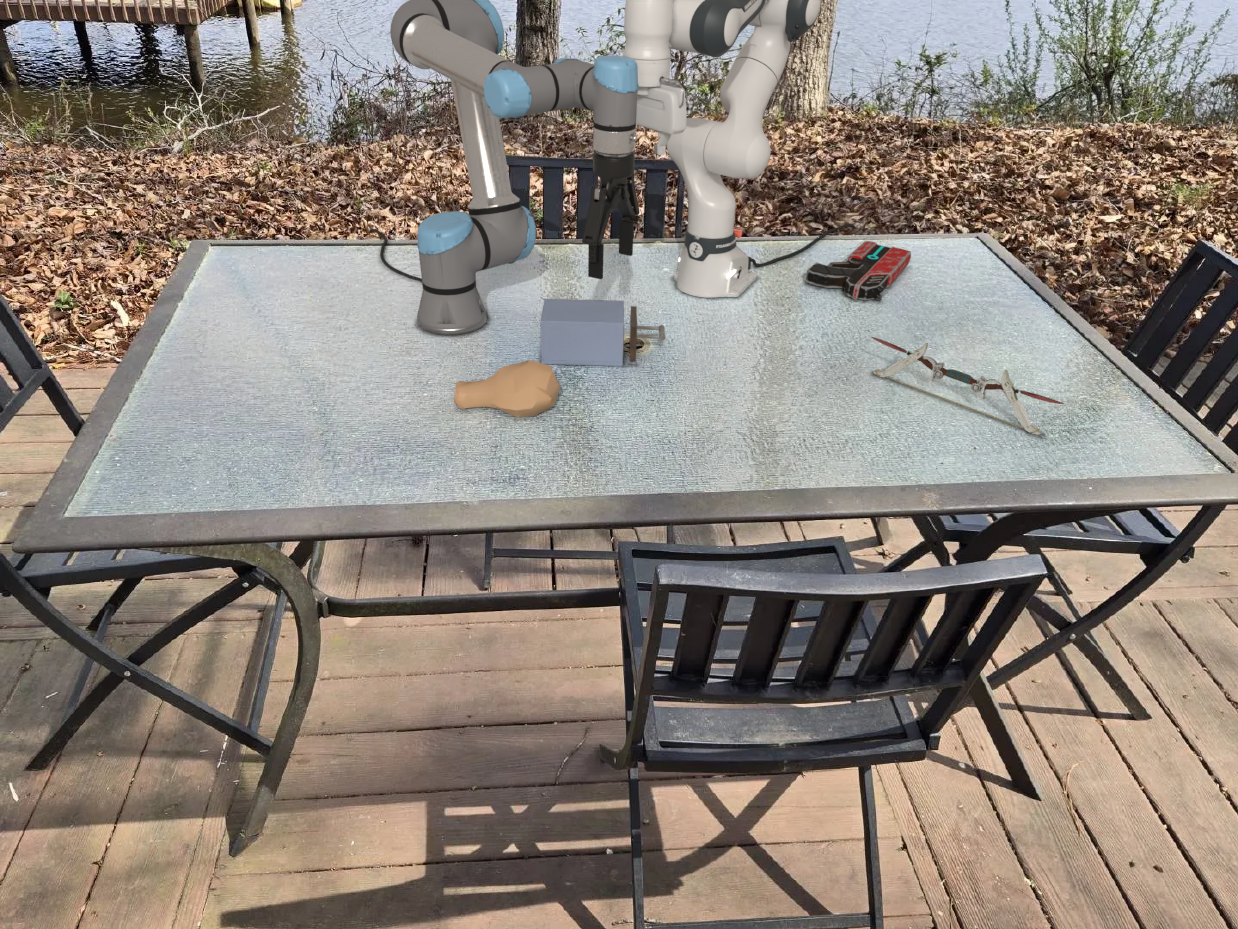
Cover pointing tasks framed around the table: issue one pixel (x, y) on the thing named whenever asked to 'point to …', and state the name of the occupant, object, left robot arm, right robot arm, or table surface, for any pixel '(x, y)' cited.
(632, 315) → the drawer
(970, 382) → the bow
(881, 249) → the gun
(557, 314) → the cabinet
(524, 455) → the table surface
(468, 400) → the squash
